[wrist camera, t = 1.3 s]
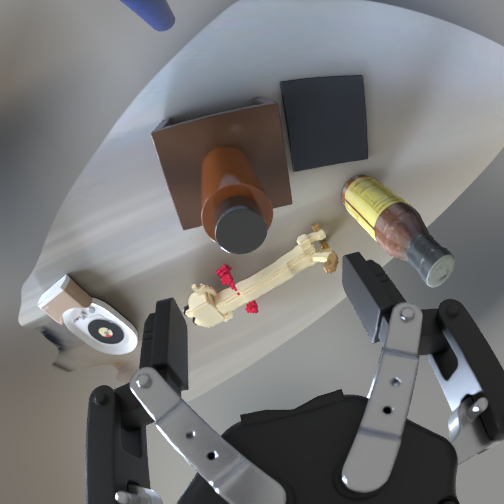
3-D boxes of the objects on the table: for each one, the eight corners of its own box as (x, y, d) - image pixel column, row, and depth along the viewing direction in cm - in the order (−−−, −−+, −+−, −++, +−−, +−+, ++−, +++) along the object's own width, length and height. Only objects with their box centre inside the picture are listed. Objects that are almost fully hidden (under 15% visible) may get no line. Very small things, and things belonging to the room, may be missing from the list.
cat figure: (306, 206, 42) (167, 291, 44) (333, 235, 34) (167, 332, 37) (328, 252, 47) (203, 325, 50) (353, 284, 40) (209, 364, 43)
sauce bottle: (372, 208, 42) (450, 293, 26) (337, 212, 42) (409, 306, 25) (378, 169, 38) (470, 244, 22) (340, 171, 38) (428, 253, 22)
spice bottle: (195, 152, 26) (191, 208, 16) (245, 140, 26) (274, 188, 16) (208, 196, 29) (213, 272, 19) (254, 185, 29) (284, 254, 19)
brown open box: (162, 120, 30) (150, 133, 24) (261, 96, 30) (277, 102, 24) (186, 199, 37) (183, 230, 30) (275, 177, 37) (292, 204, 31)
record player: (65, 282, 37) (149, 349, 49) (71, 269, 40) (150, 336, 51) (33, 309, 39) (110, 366, 51) (39, 297, 42) (112, 354, 53)
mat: (279, 81, 30) (280, 81, 29) (360, 75, 30) (362, 75, 29) (293, 170, 37) (294, 171, 36) (366, 157, 37) (368, 159, 37)
